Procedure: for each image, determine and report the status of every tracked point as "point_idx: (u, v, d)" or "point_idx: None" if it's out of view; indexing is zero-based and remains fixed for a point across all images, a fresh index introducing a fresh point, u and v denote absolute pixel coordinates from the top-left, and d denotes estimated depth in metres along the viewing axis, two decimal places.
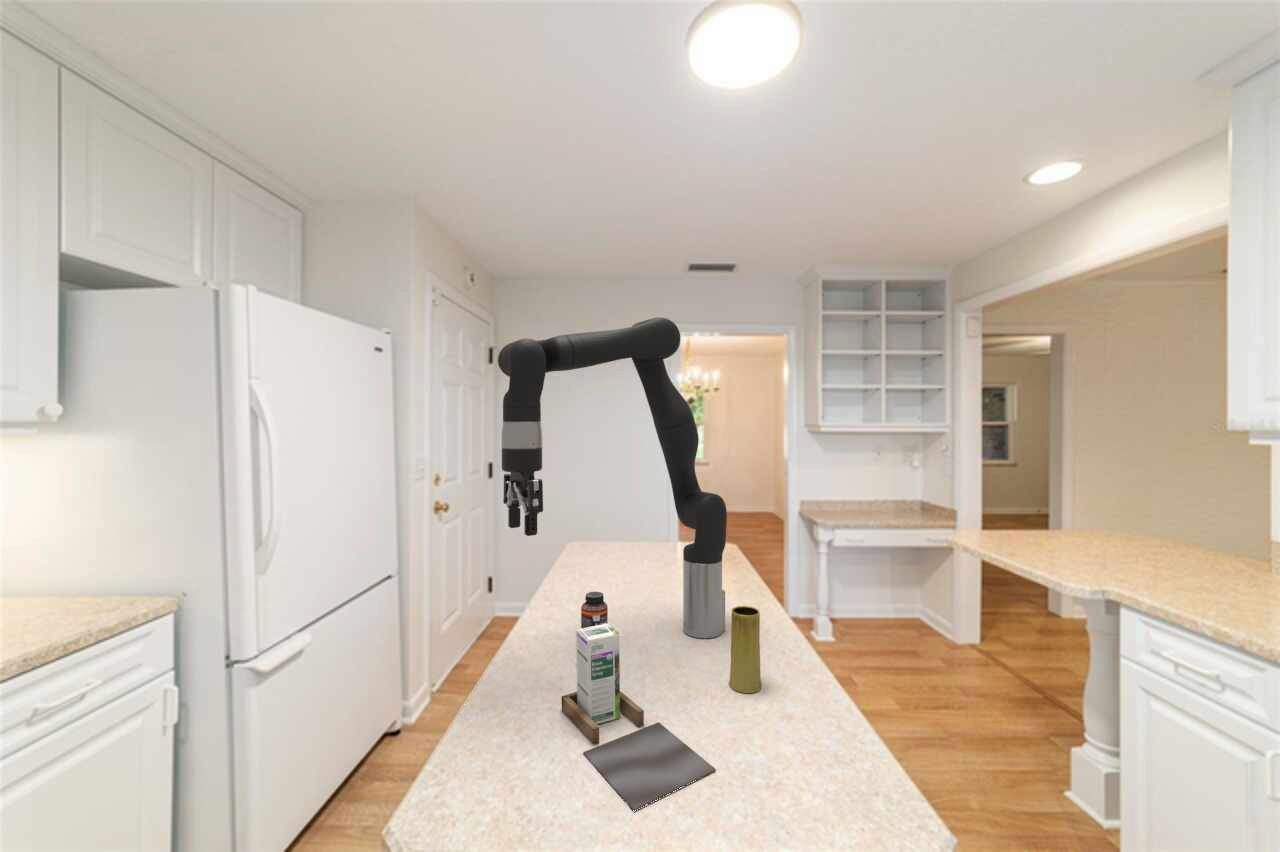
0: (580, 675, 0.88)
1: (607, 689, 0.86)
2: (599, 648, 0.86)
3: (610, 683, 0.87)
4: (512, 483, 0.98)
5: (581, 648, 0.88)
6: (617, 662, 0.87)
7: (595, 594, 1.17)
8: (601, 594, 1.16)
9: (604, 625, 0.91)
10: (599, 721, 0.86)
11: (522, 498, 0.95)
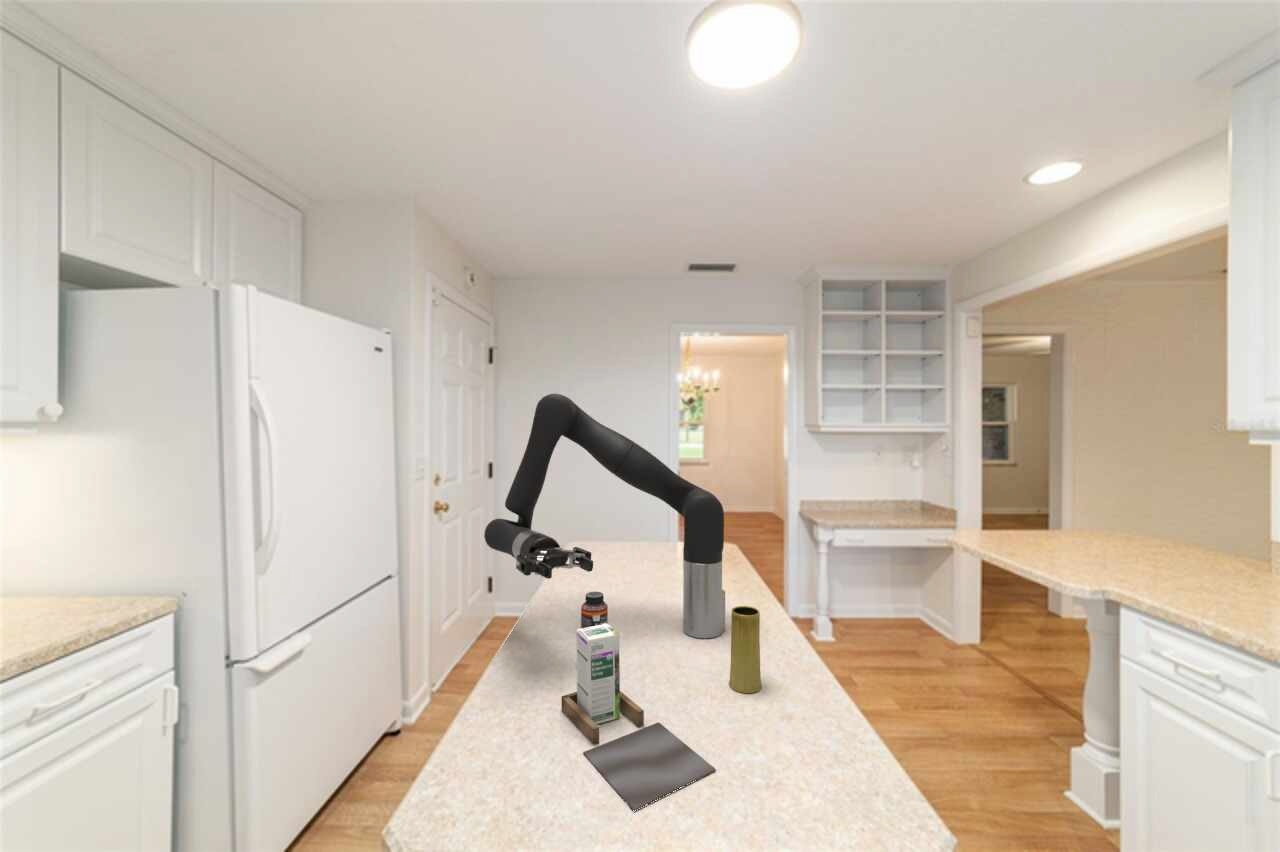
0: (580, 675, 0.88)
1: (607, 689, 0.86)
2: (598, 648, 0.86)
3: (610, 683, 0.87)
4: None
5: (581, 648, 0.88)
6: (617, 662, 0.87)
7: (595, 594, 1.17)
8: (601, 594, 1.16)
9: (604, 625, 0.91)
10: (599, 721, 0.86)
11: None
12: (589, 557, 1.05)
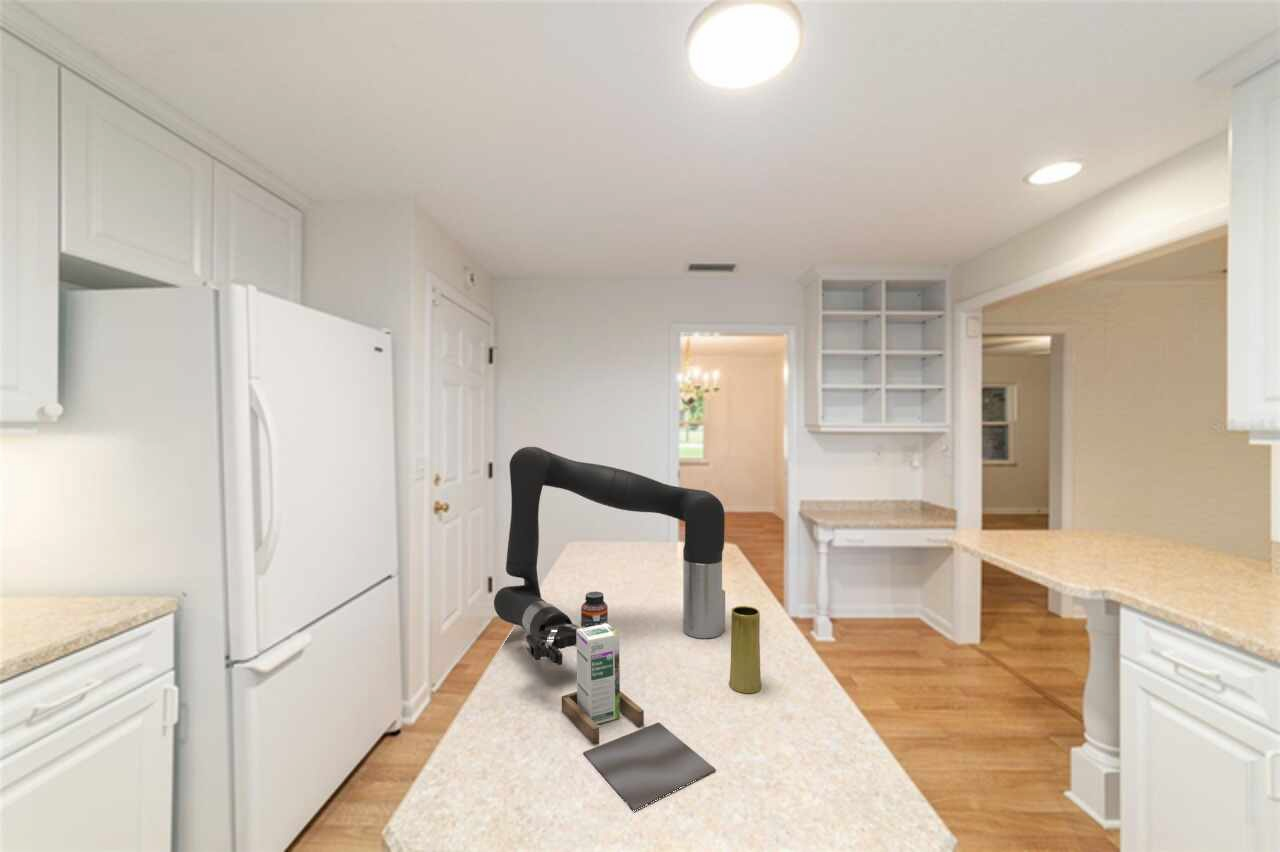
0: (580, 675, 0.88)
1: (607, 689, 0.86)
2: (598, 648, 0.86)
3: (610, 683, 0.87)
4: None
5: (581, 648, 0.88)
6: (617, 662, 0.87)
7: (595, 594, 1.17)
8: (601, 594, 1.16)
9: (604, 625, 0.91)
10: (599, 721, 0.86)
11: None
12: None
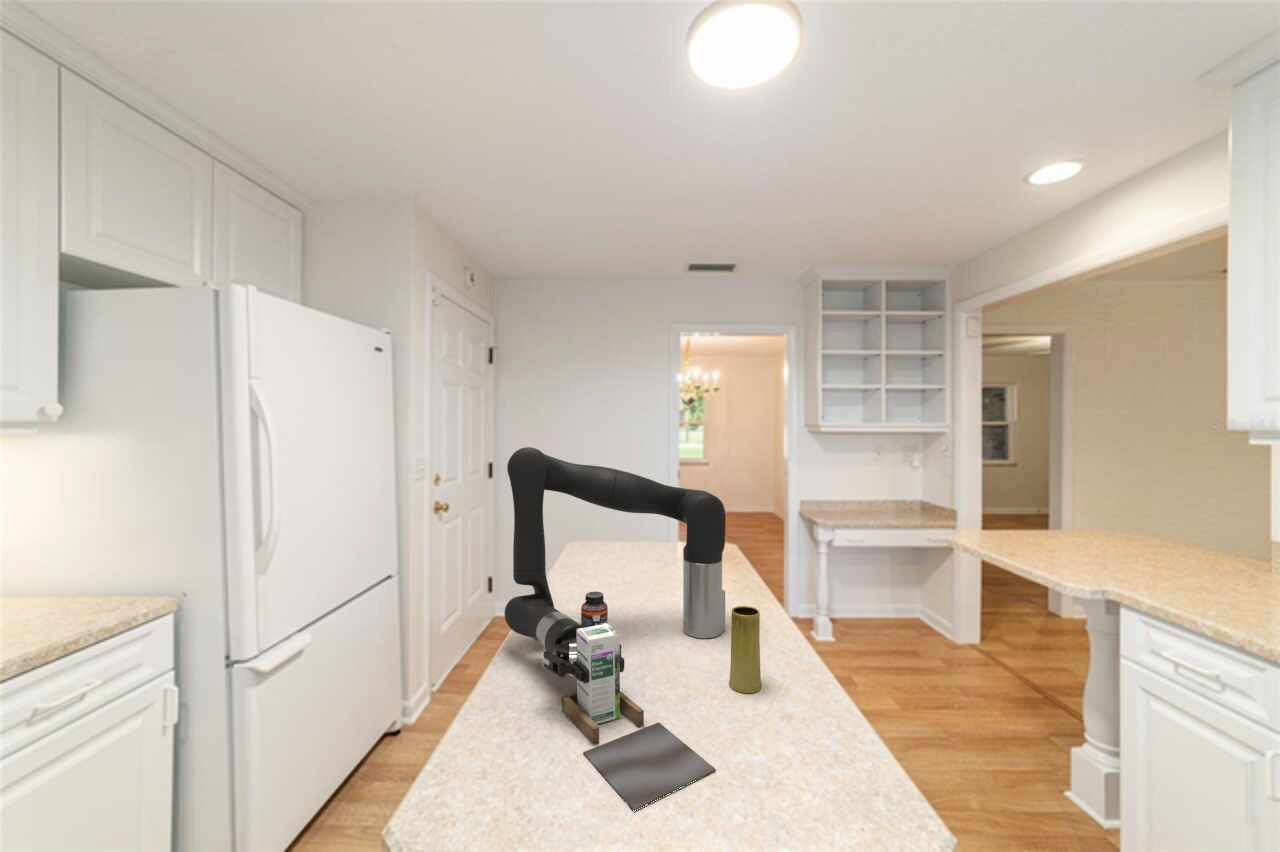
0: None
1: (607, 689, 0.86)
2: (599, 647, 0.86)
3: (610, 683, 0.87)
4: None
5: (581, 648, 0.88)
6: (617, 662, 0.87)
7: (595, 594, 1.17)
8: (601, 594, 1.16)
9: (604, 625, 0.91)
10: (599, 721, 0.86)
11: None
12: None
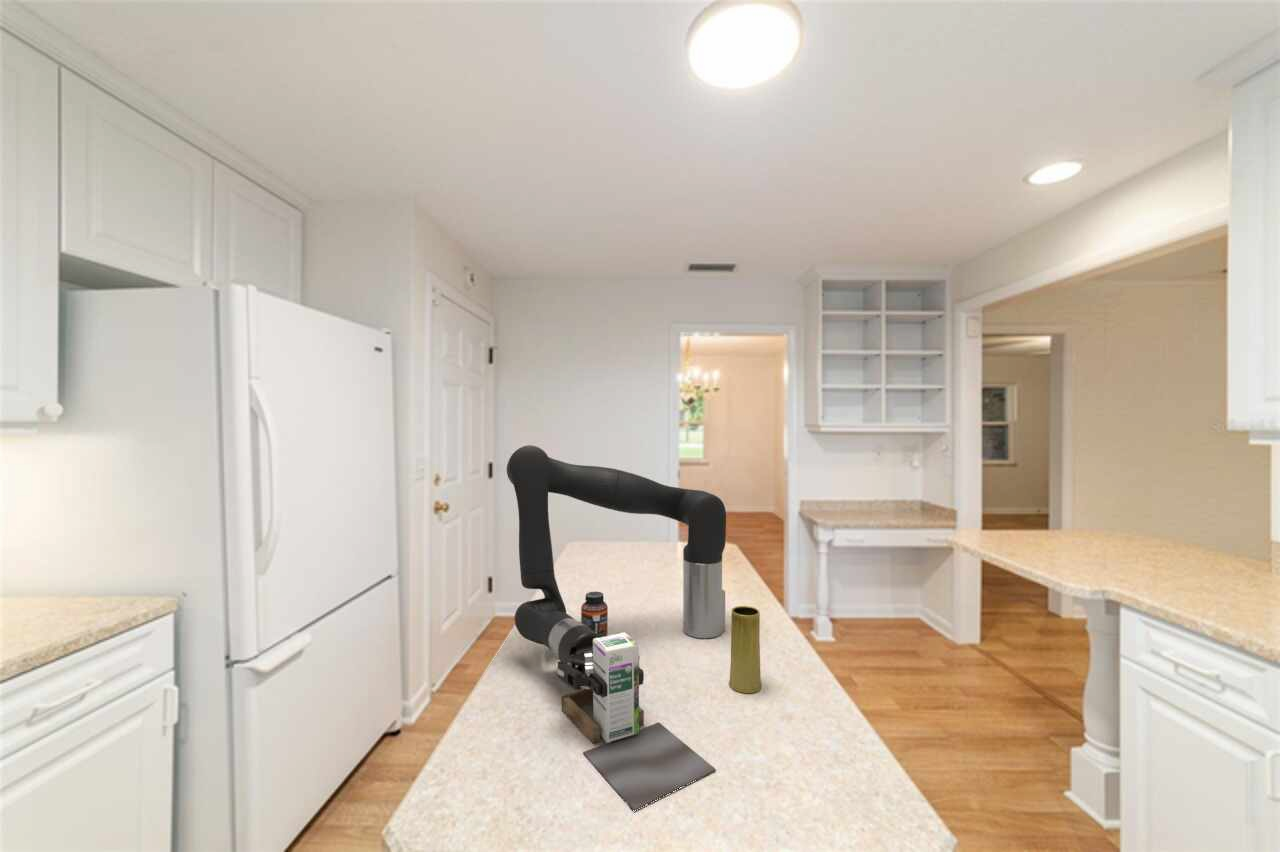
0: None
1: (626, 703, 0.81)
2: (617, 659, 0.81)
3: (629, 696, 0.81)
4: None
5: (598, 659, 0.83)
6: (636, 674, 0.82)
7: (595, 594, 1.17)
8: (601, 594, 1.16)
9: (622, 634, 0.86)
10: (617, 737, 0.81)
11: None
12: None
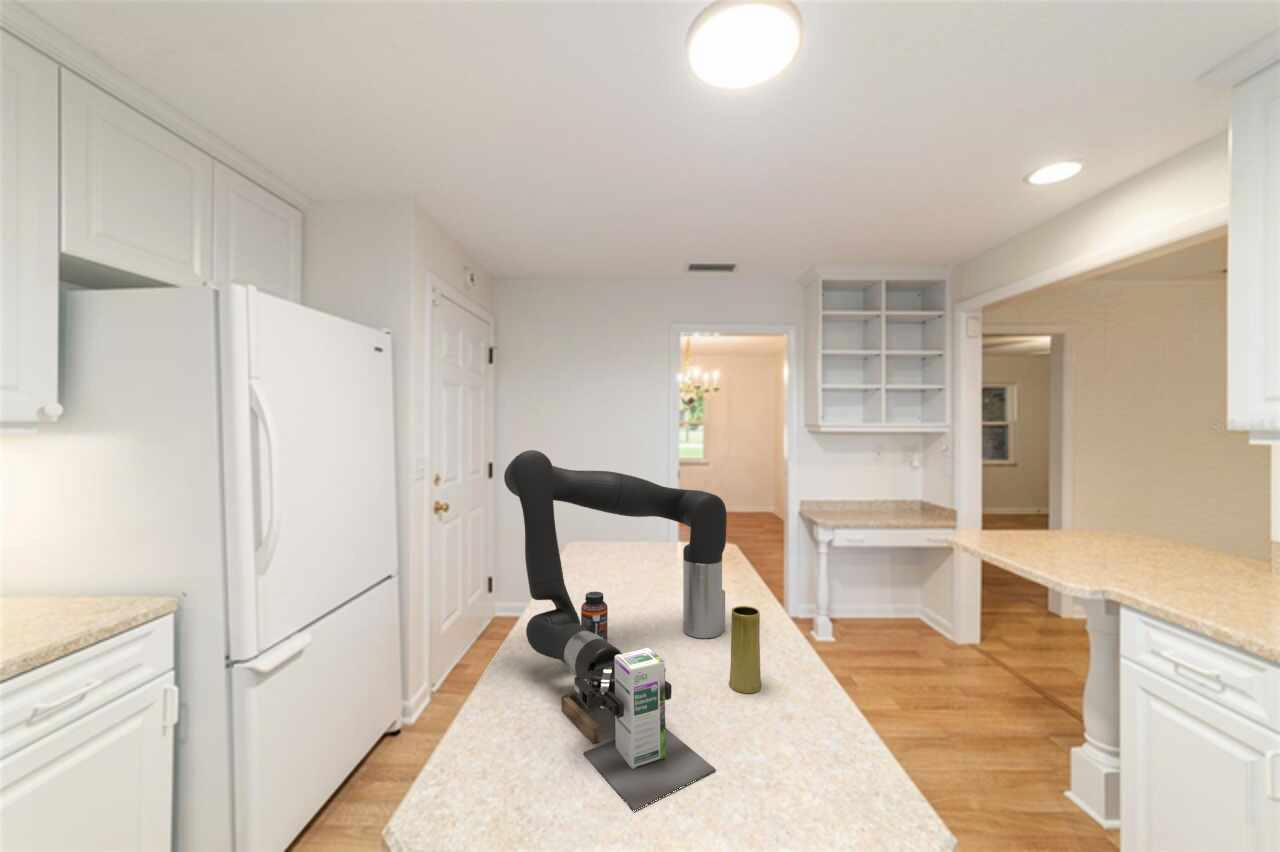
0: None
1: (651, 725, 0.76)
2: (642, 678, 0.75)
3: (655, 718, 0.76)
4: None
5: (621, 677, 0.77)
6: (662, 694, 0.77)
7: (595, 594, 1.17)
8: (601, 594, 1.16)
9: (645, 650, 0.80)
10: (643, 762, 0.75)
11: None
12: None
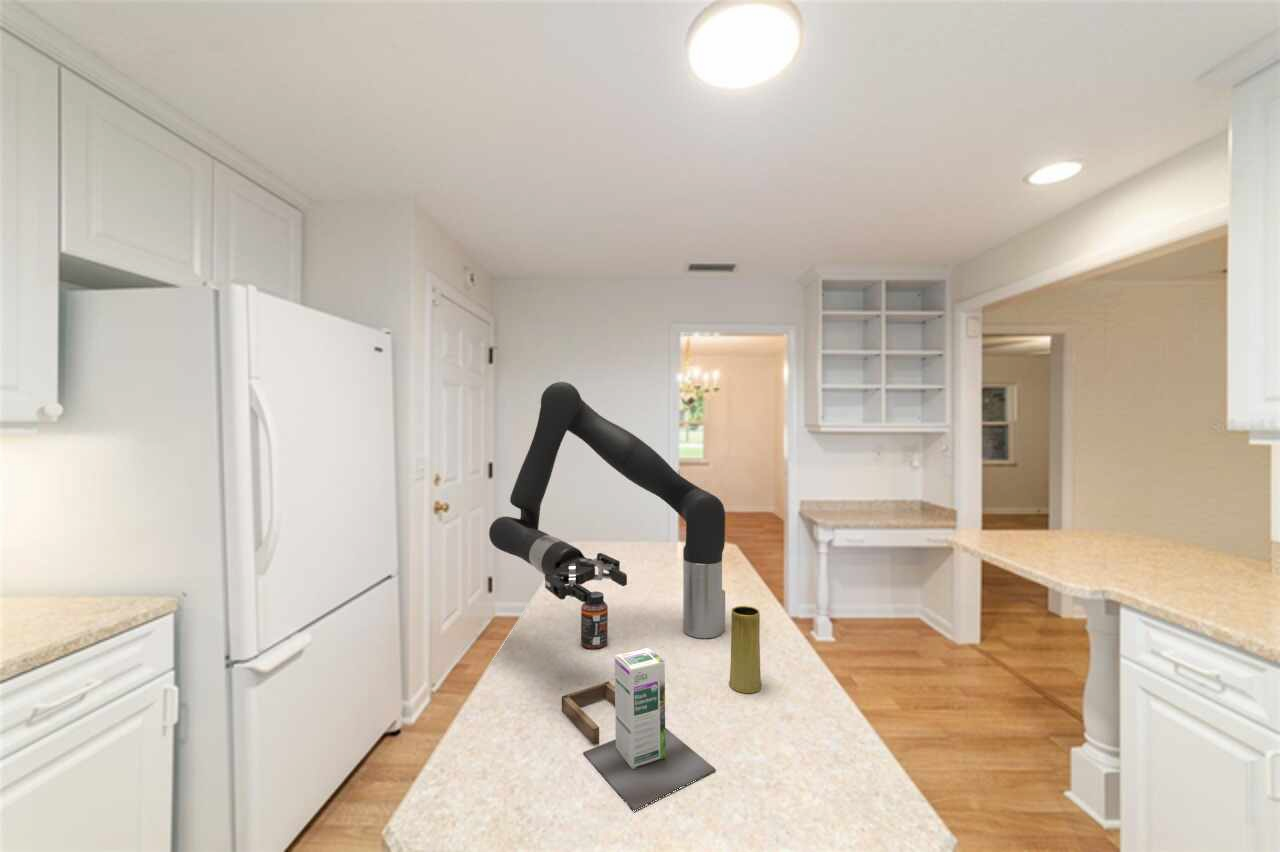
0: (619, 708, 0.78)
1: (651, 725, 0.76)
2: (642, 678, 0.75)
3: (655, 718, 0.76)
4: None
5: (621, 677, 0.77)
6: (662, 694, 0.77)
7: (595, 594, 1.17)
8: (601, 594, 1.16)
9: (645, 650, 0.80)
10: (643, 762, 0.75)
11: None
12: (618, 567, 1.01)
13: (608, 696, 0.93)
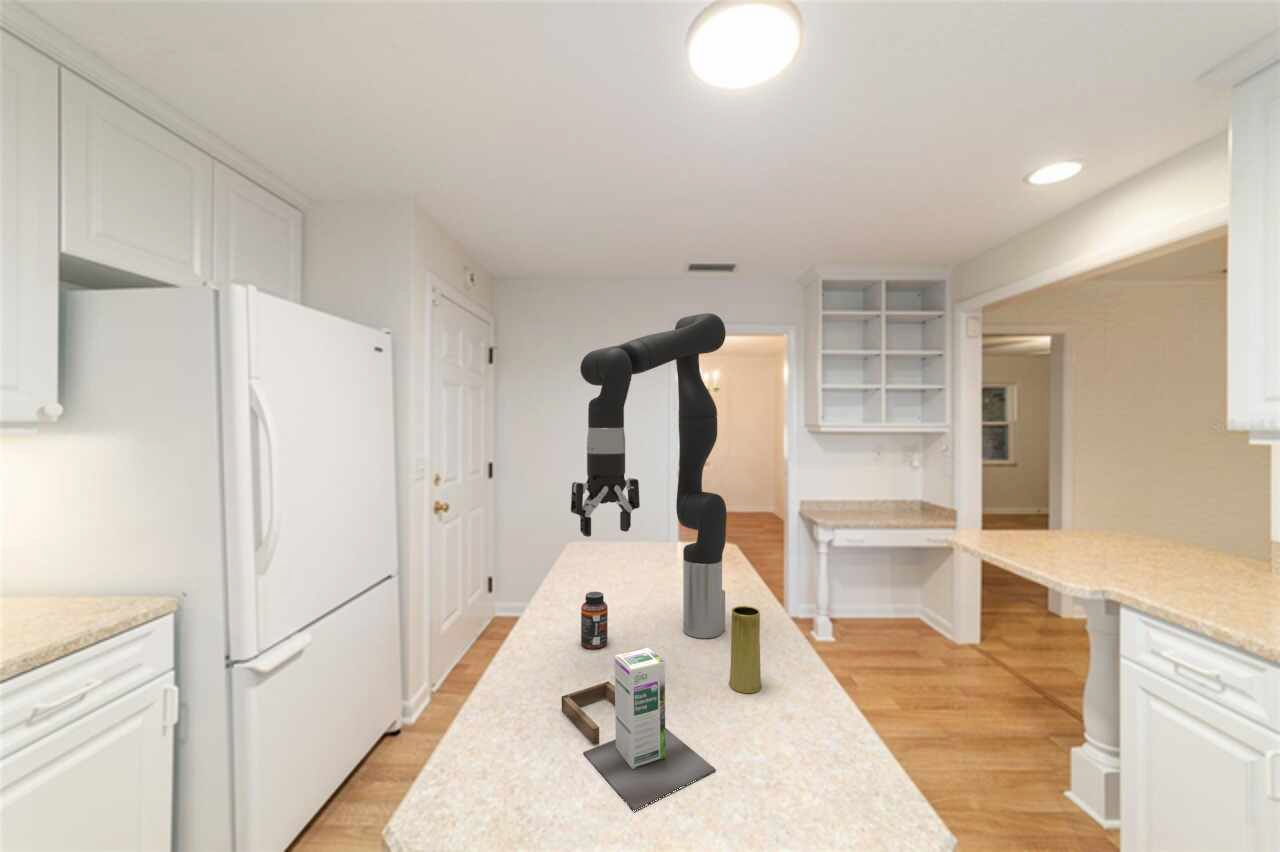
0: (619, 708, 0.78)
1: (651, 725, 0.76)
2: (642, 678, 0.75)
3: (655, 718, 0.76)
4: None
5: (621, 677, 0.77)
6: (662, 694, 0.77)
7: (595, 594, 1.17)
8: (601, 594, 1.16)
9: (645, 650, 0.80)
10: (643, 762, 0.75)
11: (586, 499, 1.01)
12: None
13: (608, 696, 0.93)
